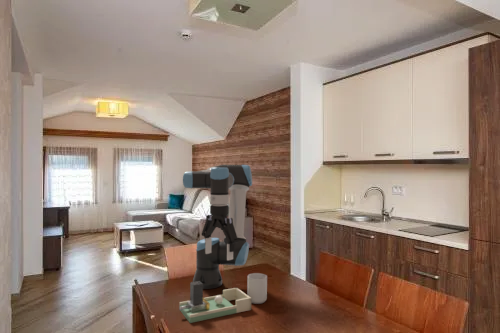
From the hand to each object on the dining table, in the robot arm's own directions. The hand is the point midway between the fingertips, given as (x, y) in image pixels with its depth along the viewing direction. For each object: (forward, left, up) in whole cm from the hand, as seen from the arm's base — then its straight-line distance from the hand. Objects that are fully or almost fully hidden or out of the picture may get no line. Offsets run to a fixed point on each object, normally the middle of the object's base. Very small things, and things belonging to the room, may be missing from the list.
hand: (218, 256), depth 138 cm
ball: (-4, +2, -20) cm, 20 cm away
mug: (-6, +23, -24) cm, 33 cm away
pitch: (-4, +1, -24) cm, 24 cm away
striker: (-4, -9, -21) cm, 24 cm away
